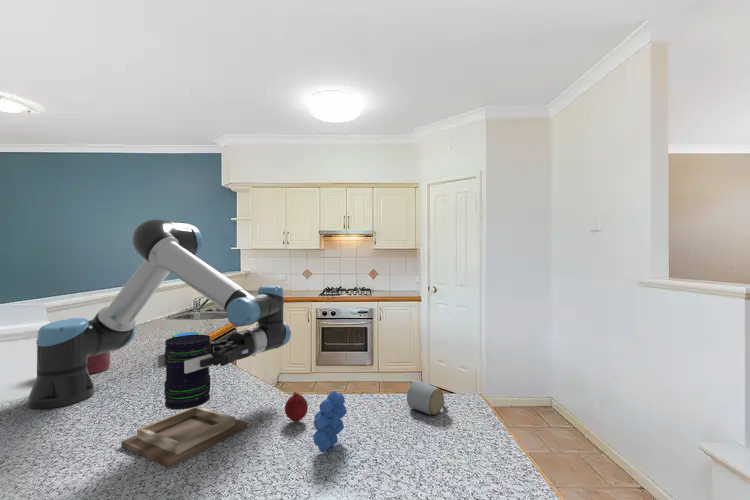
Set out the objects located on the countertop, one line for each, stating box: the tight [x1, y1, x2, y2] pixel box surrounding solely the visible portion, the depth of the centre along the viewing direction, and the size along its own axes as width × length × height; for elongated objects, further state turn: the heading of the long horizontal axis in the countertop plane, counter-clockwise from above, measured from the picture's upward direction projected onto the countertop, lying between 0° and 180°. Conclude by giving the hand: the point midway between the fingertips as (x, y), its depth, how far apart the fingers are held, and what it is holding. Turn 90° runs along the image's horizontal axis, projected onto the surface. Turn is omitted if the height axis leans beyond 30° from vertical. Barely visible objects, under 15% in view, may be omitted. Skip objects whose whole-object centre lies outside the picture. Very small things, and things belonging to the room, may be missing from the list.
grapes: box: [312, 390, 348, 453], centre depth 82 cm, size 12×7×12 cm, turn 154°
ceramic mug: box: [406, 379, 445, 416], centre depth 102 cm, size 11×8×8 cm
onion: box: [284, 390, 309, 423], centre depth 94 cm, size 6×6×8 cm
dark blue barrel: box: [163, 334, 212, 411], centre depth 87 cm, size 10×10×15 cm
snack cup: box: [171, 331, 202, 338], centre depth 154 cm, size 16×10×10 cm
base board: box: [120, 406, 249, 469], centre depth 86 cm, size 18×20×3 cm
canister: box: [87, 351, 112, 375], centre depth 137 cm, size 13×13×18 cm
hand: (170, 364), depth 83 cm, fingers closed on dark blue barrel, 10 cm apart
